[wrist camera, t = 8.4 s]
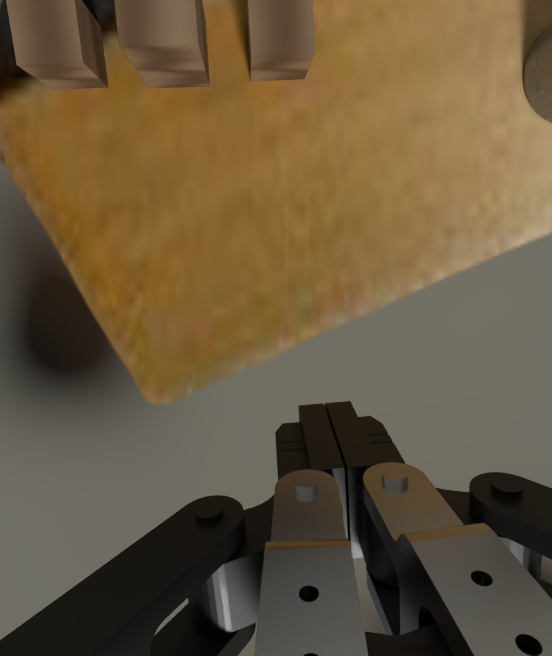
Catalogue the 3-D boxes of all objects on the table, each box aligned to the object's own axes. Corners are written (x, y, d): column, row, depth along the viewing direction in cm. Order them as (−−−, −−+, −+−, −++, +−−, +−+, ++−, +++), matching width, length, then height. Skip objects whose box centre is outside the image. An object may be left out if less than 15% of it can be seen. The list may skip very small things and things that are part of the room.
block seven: (100, 22, 40) (72, -16, 34) (108, 87, 41) (82, 62, 35) (42, 24, 40) (4, -14, 34) (52, 89, 41) (16, 64, 35)
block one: (301, 15, 41) (311, -24, 35) (304, 79, 42) (314, 52, 36) (246, 17, 41) (246, -22, 34) (250, 81, 42) (251, 55, 36)
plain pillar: (205, 19, 41) (191, -46, 31) (209, 86, 42) (198, 43, 32) (143, 20, 40) (109, -45, 31) (149, 88, 42) (119, 45, 32)
